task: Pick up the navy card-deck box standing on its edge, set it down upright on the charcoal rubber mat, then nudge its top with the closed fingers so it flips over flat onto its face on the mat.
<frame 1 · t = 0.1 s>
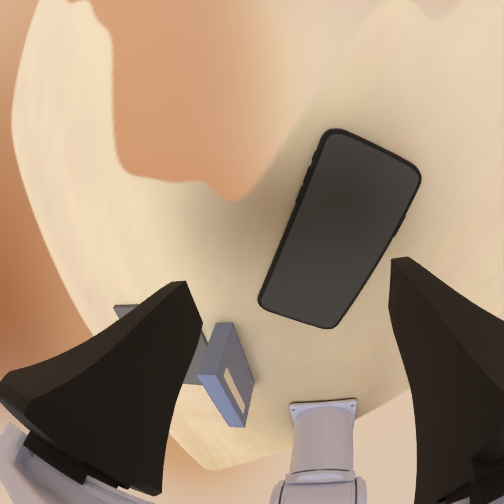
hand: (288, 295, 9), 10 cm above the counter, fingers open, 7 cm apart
smartphone: (333, 240, 20), on the counter
deck: (237, 355, 27), on the counter
mat: (171, 348, 28), on the counter
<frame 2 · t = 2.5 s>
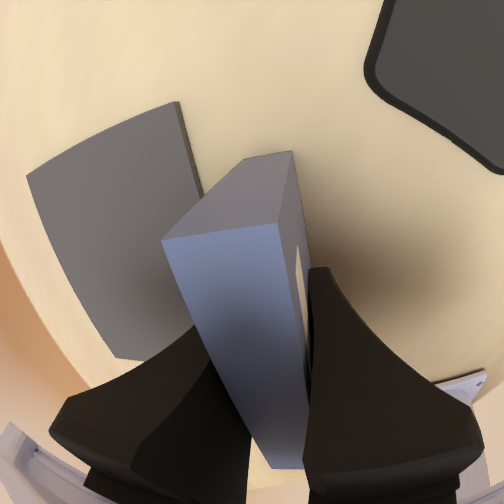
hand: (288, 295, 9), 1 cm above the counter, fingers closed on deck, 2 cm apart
deck: (290, 272, 11), on the counter, touching gripper
mat: (130, 268, 12), on the counter
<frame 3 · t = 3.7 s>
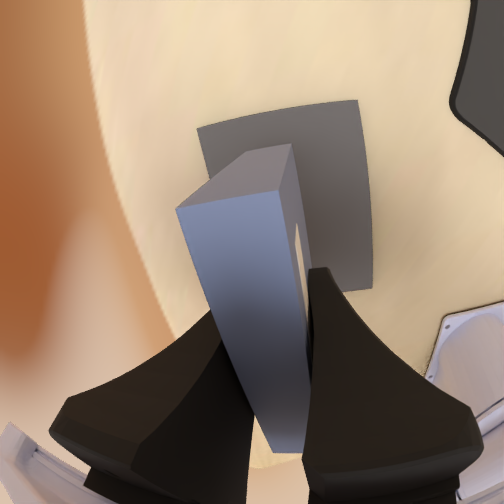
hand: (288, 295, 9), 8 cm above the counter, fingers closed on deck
smartphone: (502, 53, 8), on the counter
deck: (290, 260, 11), point 6 cm above the counter, touching gripper
mat: (295, 210, 17), on the counter
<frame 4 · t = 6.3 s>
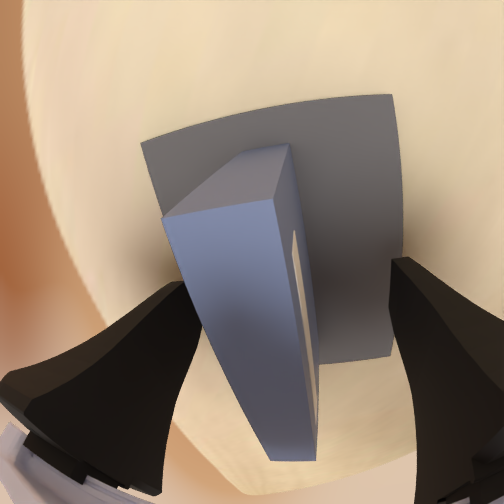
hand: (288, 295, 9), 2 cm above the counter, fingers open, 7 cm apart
deck: (288, 264, 11), resting on mat
mat: (290, 263, 11), on the counter
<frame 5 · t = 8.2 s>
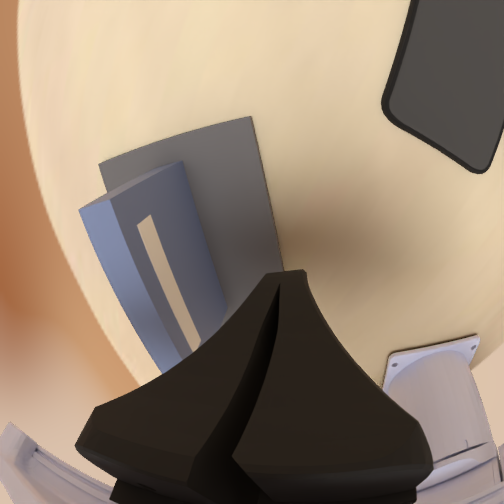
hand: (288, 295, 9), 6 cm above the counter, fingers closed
smartphone: (465, 35, 8), on the counter
deck: (192, 243, 15), resting on mat
mat: (196, 243, 16), on the counter
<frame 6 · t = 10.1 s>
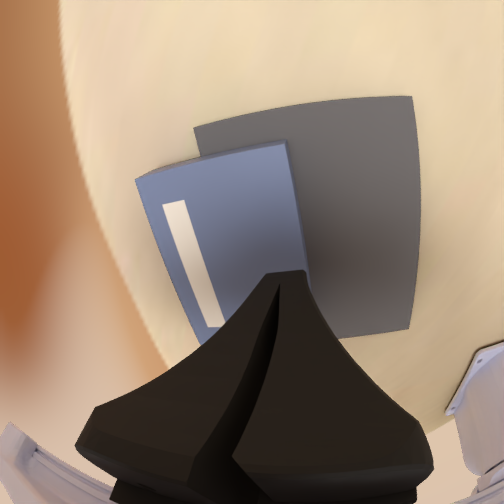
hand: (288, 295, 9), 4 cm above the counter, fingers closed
deck: (304, 250, 12), point 1 cm above the counter, tilted 90°, touching mat
mat: (325, 239, 12), on the counter
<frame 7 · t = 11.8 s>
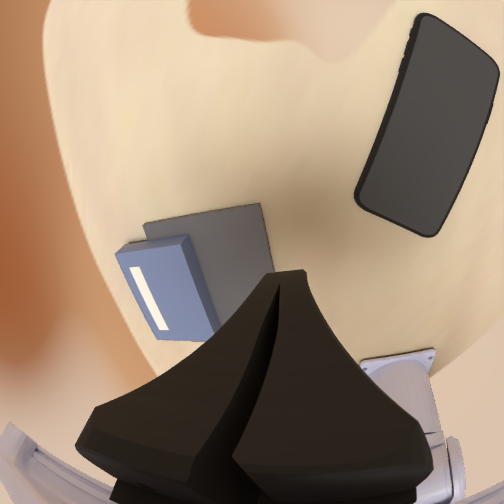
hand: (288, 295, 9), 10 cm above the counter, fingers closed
smartphone: (433, 124, 14), on the counter
deck: (203, 292, 21), point 1 cm above the counter, tilted 90°, touching mat
mat: (219, 284, 22), on the counter
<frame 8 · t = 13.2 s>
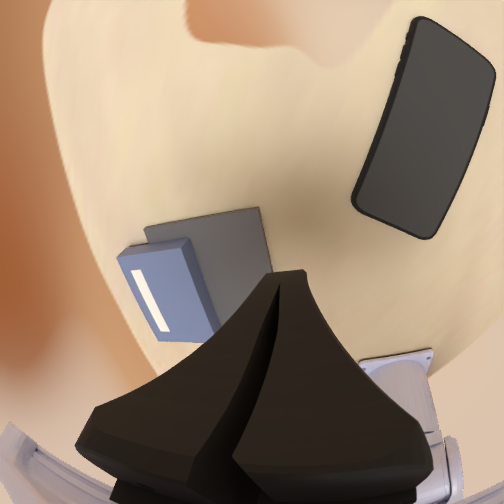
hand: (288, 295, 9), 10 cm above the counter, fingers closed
smartphone: (429, 127, 14), on the counter
deck: (203, 294, 21), point 1 cm above the counter, tilted 90°, touching mat
mat: (219, 286, 22), on the counter
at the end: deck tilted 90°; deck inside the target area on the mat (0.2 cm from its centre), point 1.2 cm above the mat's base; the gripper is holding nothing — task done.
